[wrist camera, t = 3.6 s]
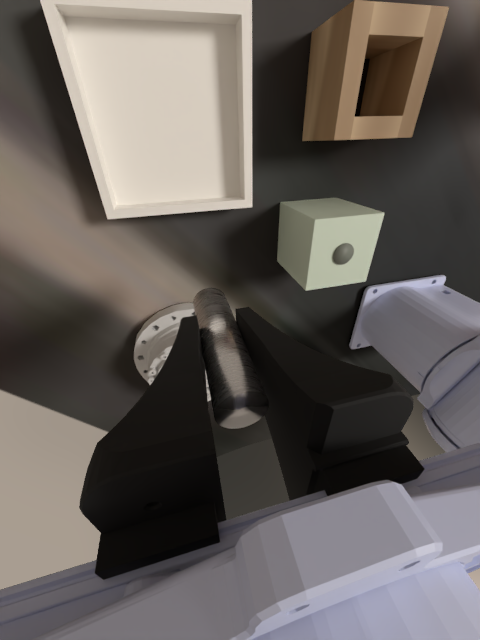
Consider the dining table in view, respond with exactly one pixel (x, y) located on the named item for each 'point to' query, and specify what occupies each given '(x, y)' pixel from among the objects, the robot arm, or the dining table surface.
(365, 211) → the green block
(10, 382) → the dining table surface
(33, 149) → the dining table surface
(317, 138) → the wooden square holder
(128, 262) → the dining table surface
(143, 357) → the mechanical component
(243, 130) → the tray
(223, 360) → the pin
